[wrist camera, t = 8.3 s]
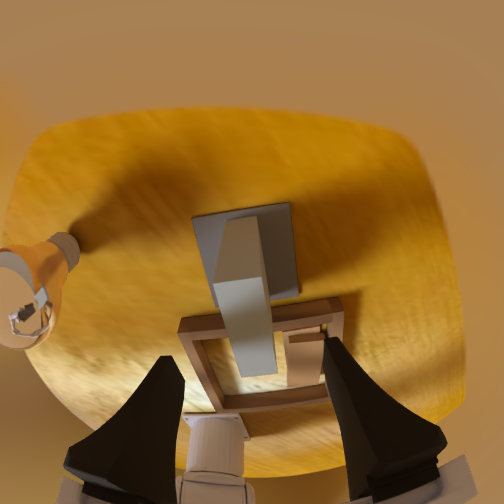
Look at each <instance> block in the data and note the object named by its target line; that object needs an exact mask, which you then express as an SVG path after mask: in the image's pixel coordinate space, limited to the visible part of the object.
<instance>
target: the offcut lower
mask: <svg viewBox="0 0 504 504" xmlns="http://www.w3.org/2000/svg"><path fill="white" fill-rule="evenodd" d="M282 333H283V340H284V348H285V356H286V364H287V363H288V336H294V335H306V334H317V333H320V325H314V326H309V327H303V328H296V329H290V330H283V331H282Z"/></svg>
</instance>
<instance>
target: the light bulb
mask: <svg viewBox="0 0 504 504" xmlns="http://www.w3.org/2000/svg"><path fill="white" fill-rule="evenodd" d="M79 259H80V248H79V245H78V242H77V241H76V239H75V238H74V237H73V236H72V235H70V234H68V233H66V232H57V233H55V234H54V235H53V236H51V237H50V238H49V239H47V240H46V241H44V242H40V243H37V244H35V245H33V246H26V245H8V246H4V247H2V248H0V345H2V346H4V347H7V348H10V349H14V350H27V349H31V348H33V347H36V346H38V345H39V344H41V343H42V342H44V341H45V340H46V339H47V338H48V337H49V336H50V335H51V333H52V332H53V330H54V328H55V326H56V324H57V322H58V319H59V315H60V311H61V302H62V287H63V285H64V283H65V281H66V279H67V276H68V273H69V272H70V271H71V270H72V269H73V268H74V267H75V266H76V265H77V264H78V262H79Z"/></svg>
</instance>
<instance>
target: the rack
mask: <svg viewBox="0 0 504 504" xmlns="http://www.w3.org/2000/svg"><path fill="white" fill-rule="evenodd" d="M271 315H272V324H273V332H276V331H283V330H290V329H296V328H302V327H309V326H314V325H320V324H326V323H327V338H330V337H335V336H337V337H339V339H340V340H341V342H342V340H343V326H344V309H343V307H342V304H341V302H340V300H339V298H338V297H334V298H329V299H323V300H317V301H311V302H305V303H299V304H292V305H286V306H279V307H272V308H271ZM177 334H178V336H179V338H180V340H181V343H182V345H183V347H184V349H185V351H186V353H187V356H188V358H189V360H190V362H191V364H192V366H193V368H194V370H195V372H196V374H197V376H198V378H199V380H200V382H201V384H202V386H203V388H204V390H205V392H206V394H207V396H208V397H209V399H210V401H211V403H212V405H213V407H214V409H215V410H216V412H217V414H224V413H242V412H255V411H266V410H275V409H283V408H290V407H297V406H304V405H310V404H316V403H321V402H326V401H331V397H330V394H329V390H328V387H327V383H326V379H325V384H321V385H315V386H310V387H304V388H297V389H291V390H283V391H276V392H267V393H258V394H247V395H234V396H224V394H223V392H222V390H221V387H220V385H219V383H218V381H217V378H216V376H215V374H214V371H213V369H212V367H211V364H210V362H209V359H208V357H207V355H206V352H205V350H204V347H203V345H202V342H201V340H204V339H216V338H226V337H228V334H227V331H226V327H225V324H224V321H223V317H222V314H217V315H207V316H198V317H187V318H181V321H180V325H179V328H178V332H177Z"/></svg>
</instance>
